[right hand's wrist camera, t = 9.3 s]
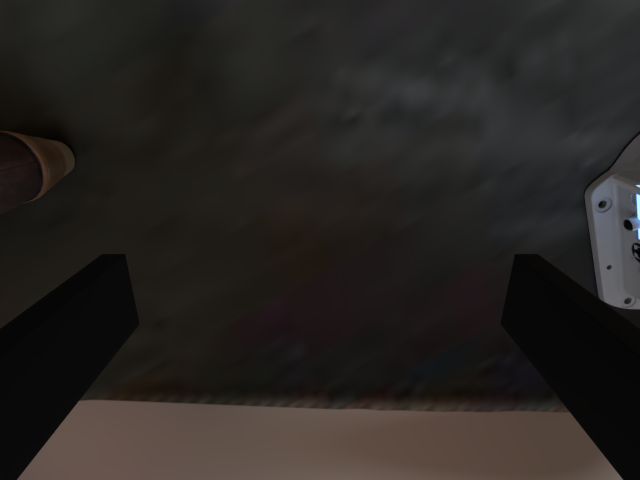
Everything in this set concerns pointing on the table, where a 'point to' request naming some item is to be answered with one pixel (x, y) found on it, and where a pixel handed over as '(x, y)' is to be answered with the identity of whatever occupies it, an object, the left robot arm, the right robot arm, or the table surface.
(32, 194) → the boot
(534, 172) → the table surface
